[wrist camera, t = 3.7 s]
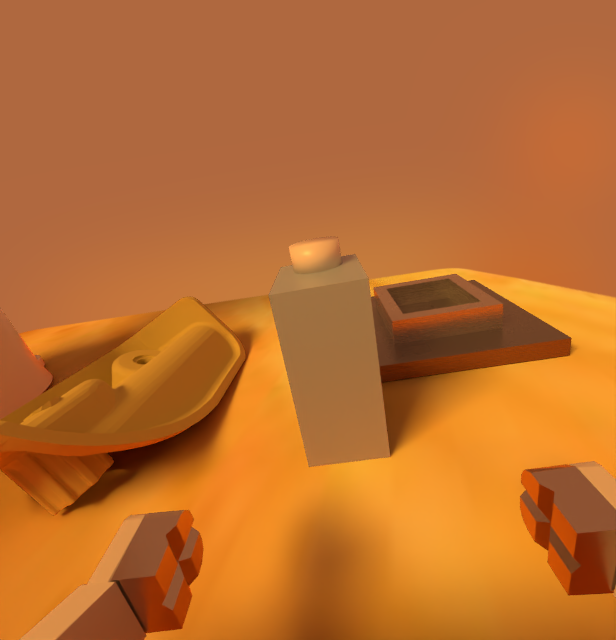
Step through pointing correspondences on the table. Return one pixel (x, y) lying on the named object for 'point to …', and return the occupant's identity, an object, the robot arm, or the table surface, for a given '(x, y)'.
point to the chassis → (455, 329)
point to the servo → (330, 353)
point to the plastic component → (120, 403)
